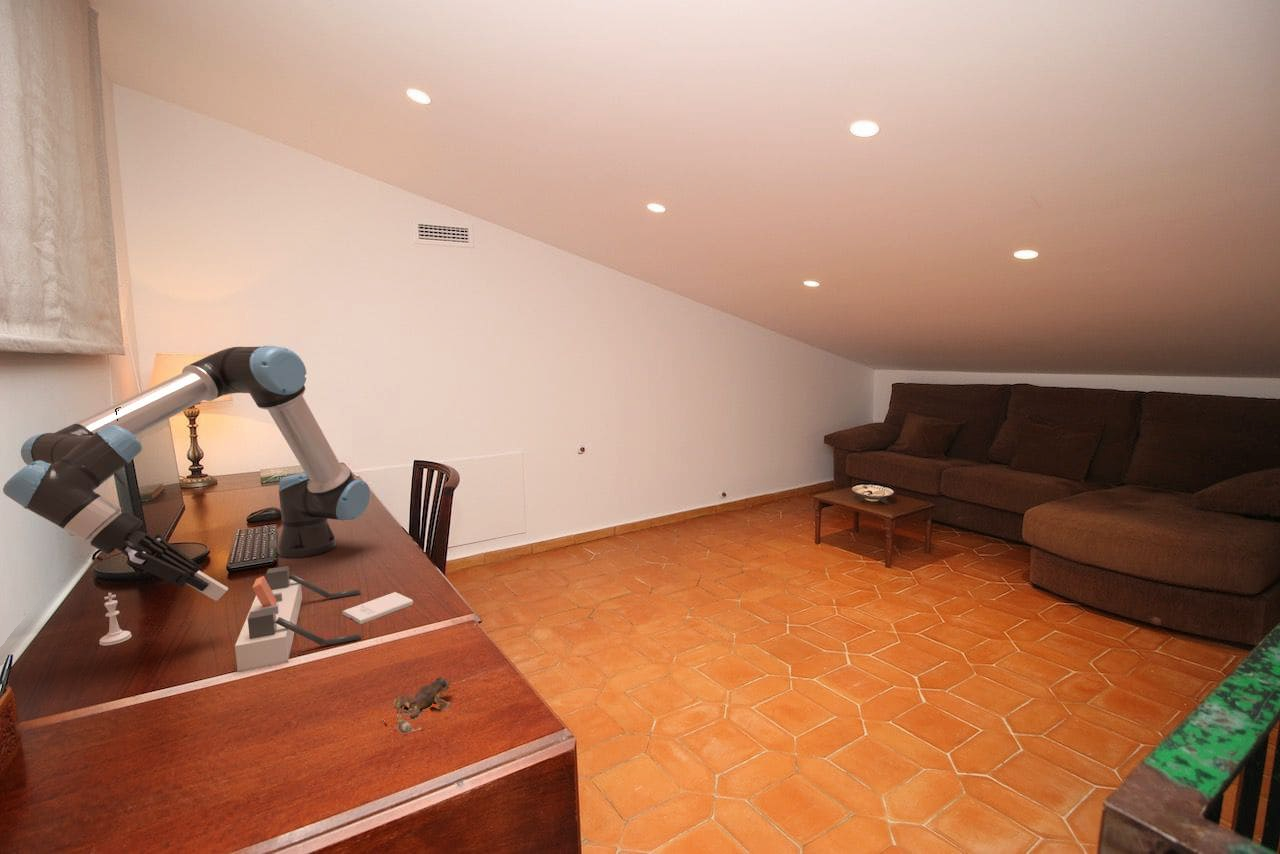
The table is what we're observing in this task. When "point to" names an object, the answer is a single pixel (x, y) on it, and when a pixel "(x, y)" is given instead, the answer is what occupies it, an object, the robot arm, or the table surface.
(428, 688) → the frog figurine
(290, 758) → the table surface
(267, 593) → the block
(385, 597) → the external hard drive
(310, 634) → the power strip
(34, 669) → the table surface
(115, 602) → the chess piece
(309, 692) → the table surface
